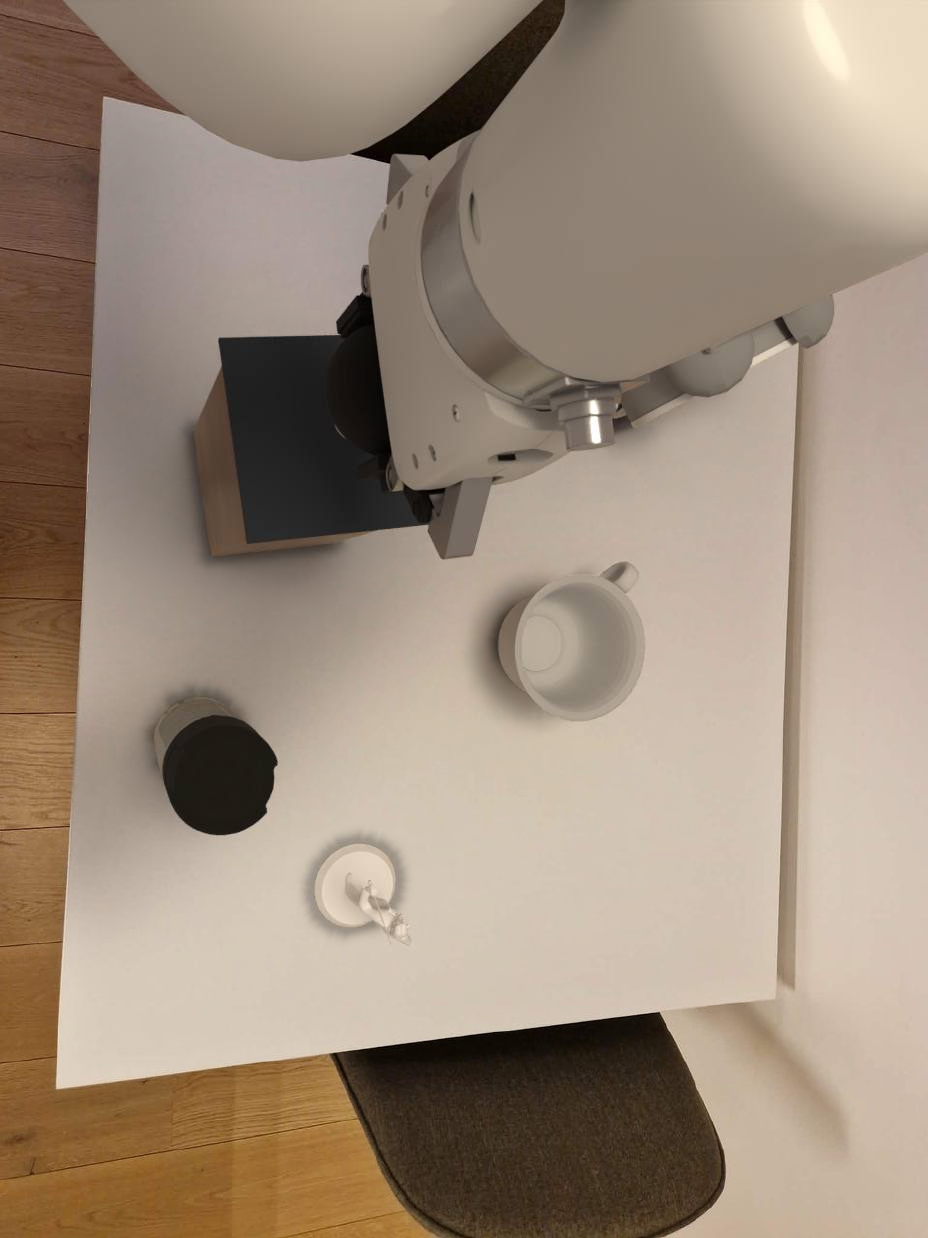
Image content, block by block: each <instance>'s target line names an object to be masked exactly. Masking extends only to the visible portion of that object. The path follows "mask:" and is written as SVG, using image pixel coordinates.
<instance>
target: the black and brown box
mask: <svg viewBox="0 0 928 1238" xmlns="http://www.w3.org/2000/svg"><path fill="white" fill-rule="evenodd" d="M344 340H345V338H341V335H340V334H323V335H322V334H321V335H320V334H319V335H316V334H315V335H277V336H276V335H275V336H274V335H273V336H230V337H226V336H225V337H224V336H223V337H218V340H217V342H218V350H219V356H220V363H221V367H222V371H223V378H224V385H225V393H226V400H227V407H228V414H229V421H230V428H231V435H232V443H233V450H234V457H235V464H236V471H237V478H238V485H239V493H240V500H241V507H242V514H243V521H244V528H245V535H246V543H247V544H253V543H263V542H272V541H281V540H291V539H300V538H310V537H319V536H328V535H338V534H347V533H356V532H366V531H374V532H376V531H375V530H377V531H384V530H393V529H403V528H411V527H422V526H428V524H427V523H419V522H418V521H417V519H416V517H415V515H413V513H412V509H411V507H410V505H409V503H408V501H407V499H406V497H405V495H404V493H403V492H396V493H382V492H381V485H380V480H378V481H366V482H357V478H356V470H357V469H358V465H360V464H362V463H364V462H365V461H367V460H369V459H370V458H372V457H374V455H371V454H368V453H366V452H364V451H362V450H360V449H358V448H357V447H355V446H354V445H352V444H351V443H350V442H349V441H348V440H347V439H345V438H344V437H343V436H342V435H340V434H339V432H338V431H337V429H336V427H335V425H334V422H333V420H332V418H331V416H330V413H329V411H328V408H327V403H326V397H325V380H326V374H327V370H328V366H329V363H330V361H331V358H332V356H333V354H334V352H335V351H336V349H337V348H338V346H339V345H340V344H341V343H342V342H343V341H344Z"/></svg>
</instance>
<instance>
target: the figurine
mask: <svg viewBox="0 0 928 1238" xmlns="http://www.w3.org/2000/svg"><path fill="white" fill-rule="evenodd" d="M396 880H397V879H396V872H395V868H394V865H393V864H392V861H391V859H390V858H389V857H388V856H387V854H386V853H385V852H384V851H382V849H380V848H378V847H376V846H374V845H371V844H366V843H352V844H347V845H345V846H343V847H340V848H338V849H336V850H335V851H334V852H332V853H331V854H330V855H329V856H328V857H327V858H326V859H325V860H324V861H323V863H322V864H321V865H320V868H319V869H318V871H317V874H316V876H315V880H314V888H313V891H314V893H313V894H314V899H315V902H316V906H317V908H318V909H319V912H320V913H321V914H322V915H323V916H324V918H325V919H326V920H328V921H329V922H331V923H332V924H334V925H337V926H339V927H344V928H357V927H361V926H365V925H367V924H369V923H372V922H373V923H374V925H376V926H378V927H380V928H381V930H382V931H383V932H384V933H385V935H386V936H387V940H388V942H389V945H390V947H391V950H392V951H393V950H394V948H393V945H392V941H391V938H393V939H395V940H396V941H397V942H399V943H401V944H404V945H406V946H407V947H409V946H410V945H411V944H412V938H411V936H410V935H409V933H408V929H409V928H410V926H411V925H410V924H409V923H407V922H406V921H405V918H404V916H403V913H401V912H400V911H397V910H396V909H394V908H392V907H391V905H390V903H391V901H392V899H393V897H394V894H395V890H396V883H397V881H396ZM390 937H391V938H390Z"/></svg>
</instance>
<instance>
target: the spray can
mask: <svg viewBox="0 0 928 1238" xmlns="http://www.w3.org/2000/svg"><path fill="white" fill-rule="evenodd" d="M153 748H154V752H155V753H154V754H155V757H156V759H157V764H158V767H159V771H160V775H161V778H162V781H163V785H164V788H165V791H166V793H167V794H166V795H167V798H168V800H169V803H170V804H171V807H172V808H173V811H174V812H175V813H176V815H177V816H178V818H179V819H180V820H181V821H182V822H184V824H185V825H187V826H188V827H190V828H191V829H193V830H195V831H197V832H200V833H203V834H206V835H210V836H230V835H235V834H238V833H241V832H244V831H245V830H247V829H249V828H251V827H253V826H254V825H256V824H257V823H258V822H259V821H261V820H262V819H263V818H264V816H266V814H268V808H267V804H268V802H269V800H270V798H271V796H272V794H273V791H274V786H275V768H276V767H277V766H278V765H279V761H278V758H277V755H276V753H275V751H274V750H273V749H272V747H271V745H270V743H269V742H267V741H266V740H265V739H264V737H262V736H261V734H260V733H259V732H257V730H256V729H255V728H254V727H252V726H251V725H250V724H249V723H247V722H246V721H245V720H244V719H243V718H242V717H240V716H239V714H237V713H236V712H234V710H232V709H231V708H230V707H228V706H227V705H226V704H225V703H223V702H222V701H219V700H217V699H215V698H212V697H207V696H192V697H187V698H184V699H181V700H179V701H177V702H176V703H174V704H172V705H171V706H170V707H169V708H168V709H166V710H165V712H163V714H162V715H161V717H160V718H159V719H158V722H157V723H156V727H155V729H154V732H153Z"/></svg>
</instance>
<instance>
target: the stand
mask: <svg viewBox="0 0 928 1238" xmlns="http://www.w3.org/2000/svg"><path fill="white" fill-rule="evenodd" d="M192 434H193V435H192V436H193V442H194V450H195V455H196V456H195V457H196V462H197V470H198V476H199V477H198V478H199V485H200V490H201V499H202V505H203V511H204V519H205V526H206V534H207V540H208V546H209V554H210V557H212V558H213V557H220V556H221V557H222V556H223V557H224V556H231V555H241V554H249V553H259V552H267V551H275V550H285V549H293V548H305V547H312V546H313V547H314V546H321V545H331V544H335V543H336V544H337V543H339V542H343V541H346V540H350V539H353V538H356V537H359V536H363V535H366V534H370V533H373V532H378V530H375V531H366V532H356V533H347V534H338V535H328V536H319V537H310V538H300V539H291V540H281V541H272V542H263V543H253V544H247V543H246V535H245V528H244V521H243V514H242V507H241V500H240V493H239V485H238V478H237V471H236V464H235V457H234V450H233V443H232V435H231V428H230V421H229V414H228V407H227V400H226V393H225V385H224V378H223V371H222V366H221V367H220V369H219V371H218V373H217V376H216V378H215V380H214V382H213V385H212V387H211V390H210V392H209V394H208V396H207V399H206V401H205V402H204V405H203V408H202V410H201V413H200V414H199V417H198V419H197V421H196V424H195V426H194V428H193V430H192Z"/></svg>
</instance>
